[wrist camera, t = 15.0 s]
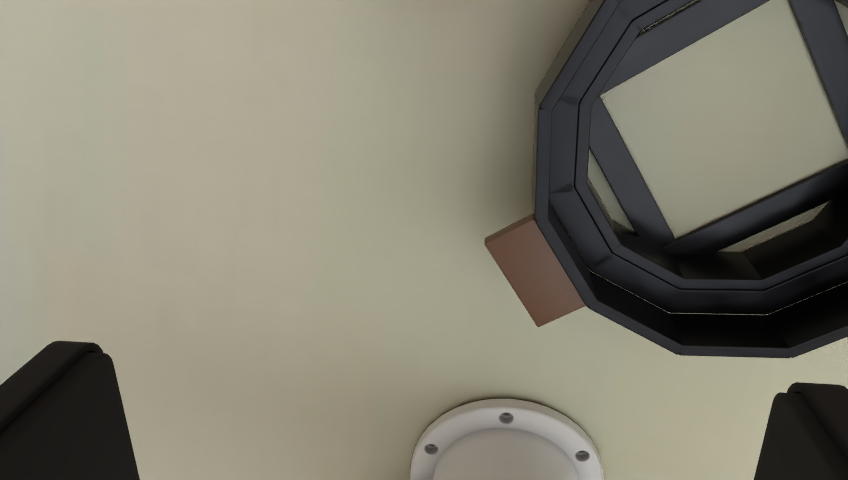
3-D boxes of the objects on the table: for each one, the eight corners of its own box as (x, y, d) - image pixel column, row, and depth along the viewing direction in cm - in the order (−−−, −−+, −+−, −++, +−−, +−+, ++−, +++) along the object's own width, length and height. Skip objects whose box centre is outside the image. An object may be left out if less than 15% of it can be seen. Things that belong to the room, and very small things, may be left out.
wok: (589, 361, 40) (602, 431, 34) (418, 87, 34) (401, 118, 28) (1047, 166, 32) (1162, 215, 26) (930, -232, 26) (1046, -275, 21)
